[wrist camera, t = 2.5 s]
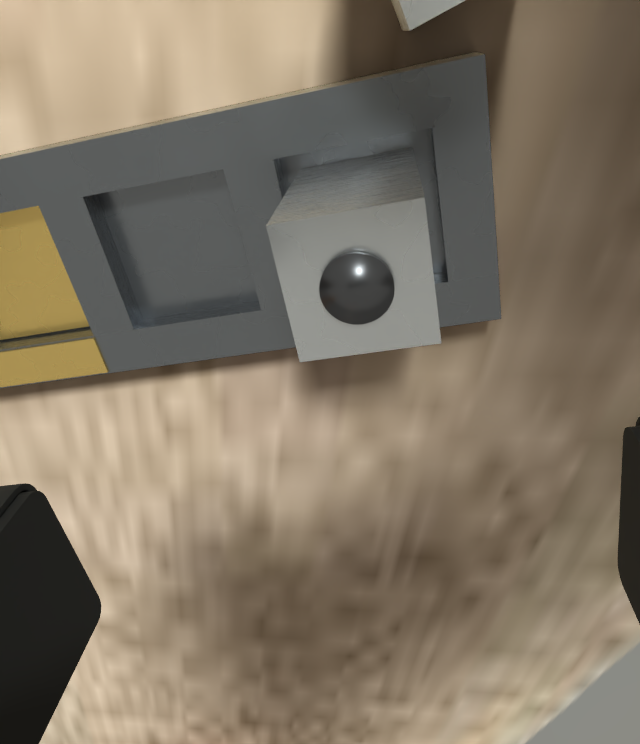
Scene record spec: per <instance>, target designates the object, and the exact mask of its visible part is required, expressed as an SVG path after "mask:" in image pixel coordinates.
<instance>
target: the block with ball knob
mask: <svg viewBox="0 0 640 744" xmlns="http://www.w3.org/2000/svg"><path fill="white" fill-rule="evenodd" d="M391 1H392V4H393V7H394V9H395V12H396V15H397V17H398V20H399V23H400V25H401V28H402V30H407V31H410V30H412V29H414V28H416V27H418V26H420V25H421V24H423V23H425V22H427V21H429V20H430V19H432V18H434V17H436V16H438V15H440V14H441V13H443V12H445V11H447V10H449V9H450V8H452V7H454V6H456V5H458V4H460V3H461V2H463V1H465V0H391Z"/></svg>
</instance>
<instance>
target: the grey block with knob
mask: <svg viewBox="0 0 640 744" xmlns="http://www.w3.org/2000/svg"><path fill="white" fill-rule="evenodd" d="M266 228H267V232H268V236H269V240H270V244H271V248H272V252H273V256H274V260H275V264H276V268H277V272H278V276H279V280H280V284H281V288H282V293H283V297H284V301H285V305H286V309H287V313H288V317H289V321H290V325H291V329H292V333H293V337H294V341H295V345H296V349H297V353H298V357H299V361H300V362H306V361H313V360H321V359H328V358H336V357H343V356H351V355H358V354H366V353H373V352H381V351H388V350H395V349H403V348H410V347H418V346H425V345H433V344H440V343H441V334H440V326H439V317H438V309H437V300H436V291H435V283H434V274H433V265H432V257H431V248H430V239H429V231H428V222H427V214H426V205H425V197H424V193H423V188H422V184H421V180H420V176H419V172H418V167H417V163H416V159H415V155H414V151H413V148H408V149H403V150H397V151H392V152H387V153H382V154H377V155H371V156H366V157H361V158H356V159H351V160H346V161H340V162H335V163H330V164H325V165H320V166H315V167H309V168H304V169H300V170H299V172H298V174H297V175H296V177H295V179H294V180H293V182H292V184H291V185H290V187H289V189H288V190H287V192H286V194H285V195H284V197H283V199H282V200H281V202H280V203H279V205H278V207H277V208H276V210H275V212H274V213H273V215H272V217H271V218H270V220H269V222H268V223H267V225H266Z"/></svg>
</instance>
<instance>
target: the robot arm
mask: <svg viewBox="0 0 640 744" xmlns="http://www.w3.org/2000/svg"><path fill="white" fill-rule="evenodd" d="M618 569H619V574H620V578H621V582H622V585H623V587H624V590H625V592H626V594H627V596H628V599H629V601H630V603H631V605H632V608H633V610H634V612H635V614H636V617H637V619H638V621H639V623H640V417H638V419H637V422H636V426H635V427H627V428H625V430H624V435H623V454H622V476H621V498H620V520H619V542H618ZM100 613H101V602H100V599H99V596H98V594H97V592H96V591H95V589H94V587H93V585H92V583H91V581H90V579H89V577H88V575H87V574H86V572H85V570H84V568H83V566H82V564H81V562H80V560H79V558H78V557H77V555H76V553H75V551H74V549H73V547H72V545H71V543H70V541H69V540H68V538H67V536H66V534H65V532H64V530H63V528H62V526H61V524H60V523H59V521H58V519H57V517H56V515H55V513H54V511H53V509H52V507H51V506H50V504H49V502H48V500H47V498H46V496H45V495H44V494H43V493H42V492H40V491H37V490H36V488H35V487H33V486H32V485H30V484H16V485H7V486H0V744H39V742H40V740H41V738H42V736H43V734H44V732H45V730H46V728H47V726H48V724H49V721H50V719H51V717H52V715H53V713H54V711H55V709H56V707H57V705H58V703H59V701H60V699H61V697H62V695H63V693H64V691H65V689H66V687H67V684H68V682H69V680H70V678H71V676H72V674H73V672H74V670H75V668H76V666H77V664H78V662H79V660H80V658H81V656H82V654H83V652H84V650H85V647H86V645H87V643H88V641H89V639H90V637H91V635H92V633H93V631H94V629H95V627H96V625H97V623H98V620H99V618H100Z"/></svg>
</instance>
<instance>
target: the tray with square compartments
mask: <svg viewBox="0 0 640 744" xmlns="http://www.w3.org/2000/svg"><path fill="white" fill-rule="evenodd" d="M408 148H413V151H414V155H415V159H416V163H417V167H418V172H419V176H420V180H421V184H422V188H423V193H424V197H425V205H426V214H427V222H428V231H429V239H430V248H431V257H432V265H433V274H434V283H435V291H436V300H437V309H438V317H439V326H440V327H446V326H453V325H461V324H468V323H475V322H482V321H489V320H497V319H501V306H500V290H499V273H498V257H497V241H496V224H495V208H494V192H493V175H492V159H491V143H490V126H489V110H488V94H487V77H486V61H485V54H482V53H478V52H473V53H469V54H464V55H459V56H455V57H450V58H446V59H441V60H437V61H432V62H427V63H423V64H418V65H414V66H409V67H404V68H400V69H395V70H391V71H386V72H381V73H377V74H372V75H368V76H363V77H358V78H354V79H349V80H345V81H340V82H335V83H331V84H326V85H322V86H317V87H312V88H308V89H303V90H299V91H294V92H289V93H285V94H280V95H276V96H271V97H266V98H262V99H257V100H253V101H248V102H244V103H239V104H234V105H230V106H225V107H221V108H216V109H211V110H207V111H202V112H198V113H193V114H188V115H184V116H179V117H175V118H170V119H165V120H161V121H156V122H152V123H147V124H142V125H138V126H133V127H129V128H124V129H119V130H115V131H110V132H106V133H101V134H96V135H92V136H87V137H83V138H78V139H73V140H69V141H64V142H60V143H55V144H51V145H46V146H41V147H37V148H32V149H28V150H23V151H18V152H14V153H9V154H5V155H0V388H6V387H13V386H21V385H28V384H35V383H42V382H49V381H57V380H64V379H71V378H78V377H86V376H93V375H100V374H107V373H114V372H122V371H129V370H136V369H143V368H150V367H158V366H165V365H172V364H179V363H187V362H194V361H201V360H208V359H215V358H223V357H230V356H237V355H244V354H251V353H259V352H266V351H273V350H280V349H287V348H295V347H296V345H295V341H294V337H293V333H292V329H291V325H290V321H289V317H288V313H287V309H286V305H285V301H284V297H283V293H282V288H281V284H280V280H279V276H278V272H277V268H276V264H275V260H274V256H273V252H272V248H271V244H270V240H269V236H268V232H267V228H266V225H267V223H268V222H269V220H270V218H271V217H272V215H273V213H274V212H275V210H276V208H277V207H278V205H279V203H280V202H281V200H282V199H283V197H284V195H285V194H286V192H287V190H288V189H289V187H290V185H291V184H292V182H293V180H294V179H295V177H296V175H297V174H298V172H299V170H300V169H304V168H309V167H315V166H320V165H325V164H330V163H335V162H340V161H346V160H351V159H356V158H361V157H366V156H371V155H377V154H382V153H387V152H392V151H397V150H403V149H408Z"/></svg>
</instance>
